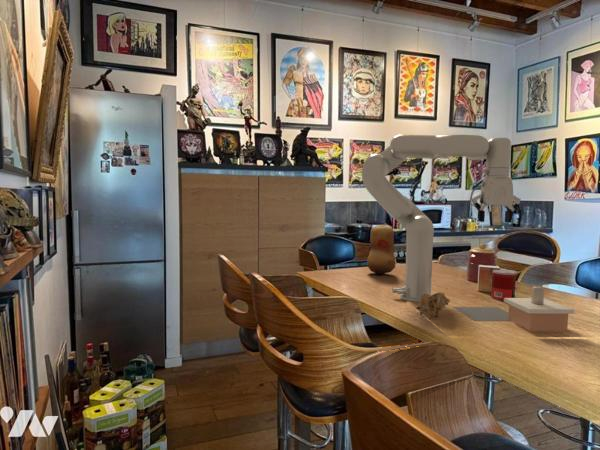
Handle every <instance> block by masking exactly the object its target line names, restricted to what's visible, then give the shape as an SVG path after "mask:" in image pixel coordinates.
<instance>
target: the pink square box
mask: <svg viewBox="0 0 600 450" xmlns="http://www.w3.org/2000/svg"><path fill="white" fill-rule="evenodd" d="M508 313H509V315H508V320H510V321H509V322H512V323H513V324H515V325H517V326H519V327H521V328H523V329H525V330H527V331H528V332H564V333H565V332H568V325H569V314H537V313H527V312H525V311H523V310H521V309H519V308H516V307H514V306H512V305H510V304H508Z"/></svg>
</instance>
